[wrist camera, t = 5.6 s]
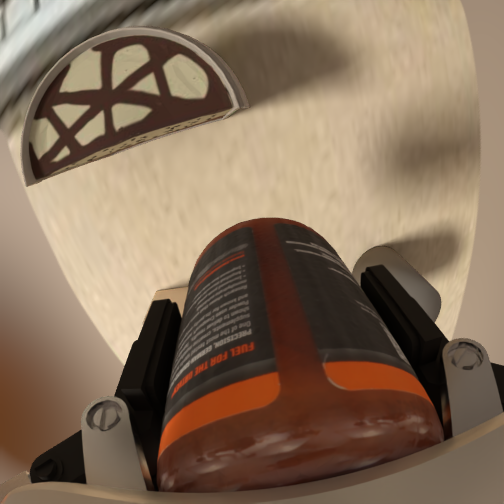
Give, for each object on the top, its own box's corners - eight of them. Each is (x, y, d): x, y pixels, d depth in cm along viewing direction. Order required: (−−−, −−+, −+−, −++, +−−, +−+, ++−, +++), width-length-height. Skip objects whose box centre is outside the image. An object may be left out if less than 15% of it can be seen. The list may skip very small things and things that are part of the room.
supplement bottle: (176, 322, 13) (131, 601, 3) (216, 190, 11) (147, 638, 1) (303, 352, 14) (361, 592, 4) (363, 240, 12) (551, 502, 2)
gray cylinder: (349, 254, 26) (384, 298, 19) (400, 240, 25) (444, 278, 19) (353, 302, 28) (383, 351, 21) (400, 287, 27) (437, 330, 21)
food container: (225, 38, 19) (218, -18, 9) (245, 113, 21) (252, 104, 12) (76, 93, 19) (-5, 87, 10) (94, 162, 22) (19, 190, 12)
